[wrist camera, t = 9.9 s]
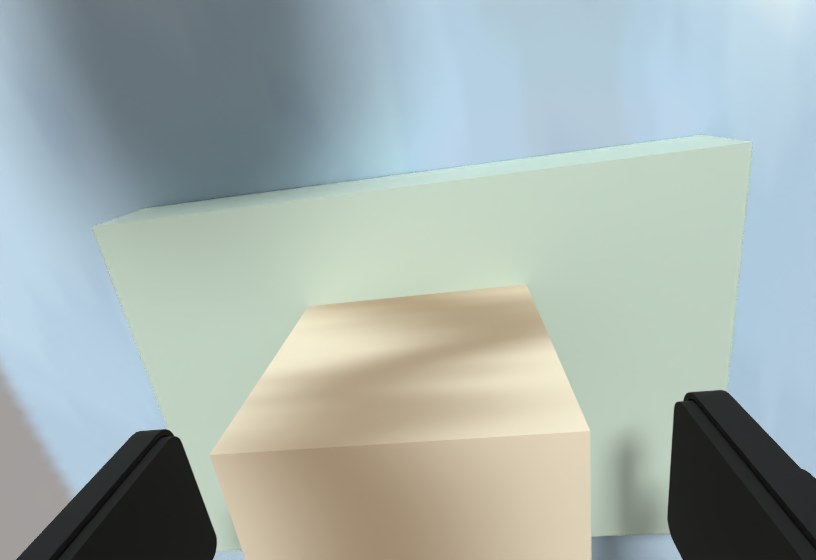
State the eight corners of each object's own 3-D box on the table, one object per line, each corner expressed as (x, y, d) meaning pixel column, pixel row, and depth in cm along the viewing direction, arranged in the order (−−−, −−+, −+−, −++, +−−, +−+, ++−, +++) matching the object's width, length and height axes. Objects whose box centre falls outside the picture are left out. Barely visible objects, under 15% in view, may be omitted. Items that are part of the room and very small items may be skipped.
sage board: (701, 134, 11) (753, 142, 9) (678, 476, 14) (712, 531, 13) (143, 208, 13) (91, 227, 11) (240, 499, 16) (213, 551, 14)
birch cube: (526, 284, 11) (590, 430, 6) (536, 464, 12) (592, 688, 8) (308, 306, 11) (209, 454, 6) (347, 475, 13) (290, 690, 8)
